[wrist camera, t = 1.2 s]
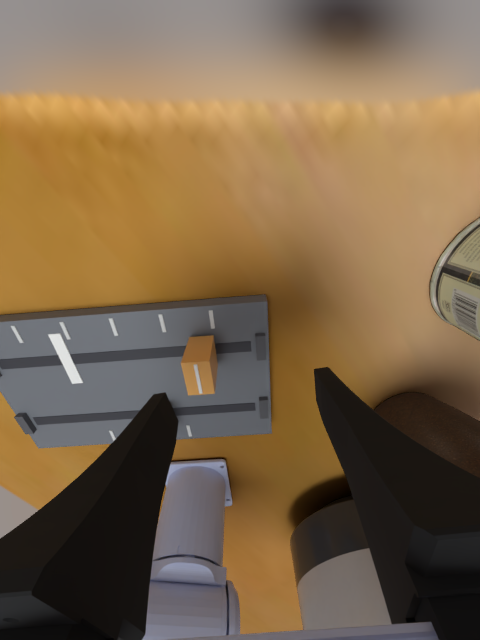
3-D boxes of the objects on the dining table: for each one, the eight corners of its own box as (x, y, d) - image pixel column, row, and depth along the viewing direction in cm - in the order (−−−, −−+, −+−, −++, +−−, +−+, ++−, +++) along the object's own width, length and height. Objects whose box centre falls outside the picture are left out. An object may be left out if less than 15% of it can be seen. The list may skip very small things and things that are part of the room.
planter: (259, 507, 35) (277, 761, 20) (387, 449, 30) (555, 734, 14) (328, 555, 42) (382, 772, 26) (442, 515, 37) (596, 757, 21)
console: (269, 421, 28) (272, 437, 26) (48, 436, 28) (35, 452, 26) (265, 294, 21) (268, 303, 19) (-27, 317, 21) (-51, 328, 20)
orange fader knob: (217, 364, 22) (214, 394, 19) (195, 366, 22) (187, 396, 19) (213, 335, 20) (209, 361, 17) (189, 337, 20) (180, 363, 17)
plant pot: (319, 387, 25) (425, 634, 11) (478, 340, 23) (866, 577, 9) (347, 471, 32) (436, 697, 18) (473, 441, 29) (695, 674, 15)
